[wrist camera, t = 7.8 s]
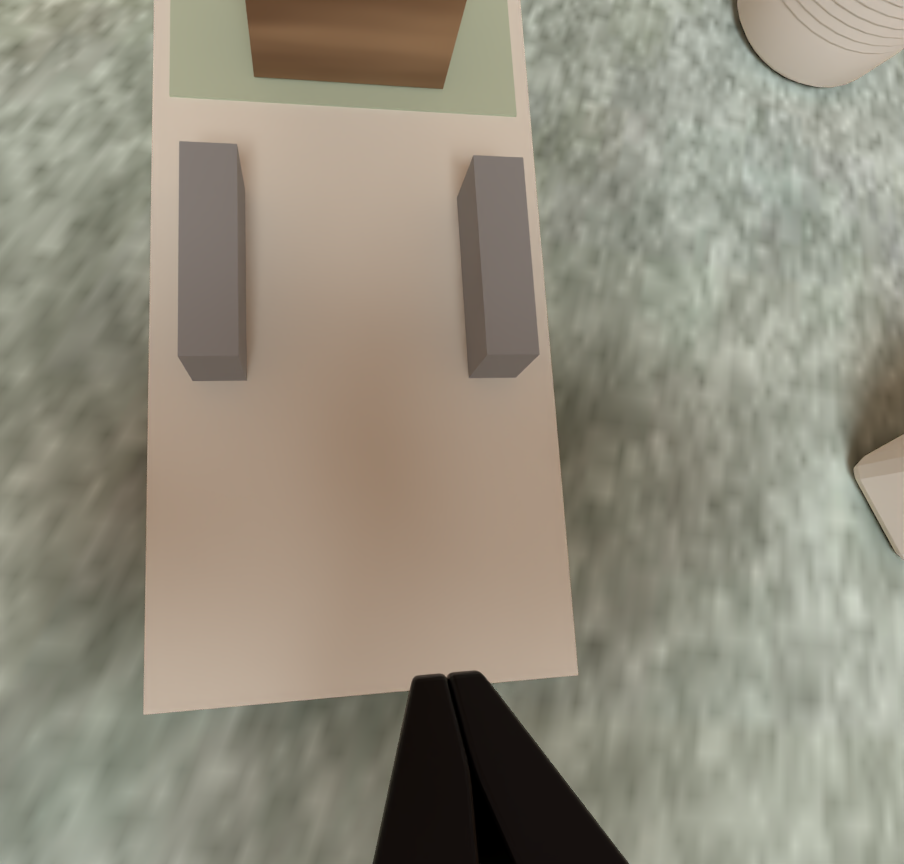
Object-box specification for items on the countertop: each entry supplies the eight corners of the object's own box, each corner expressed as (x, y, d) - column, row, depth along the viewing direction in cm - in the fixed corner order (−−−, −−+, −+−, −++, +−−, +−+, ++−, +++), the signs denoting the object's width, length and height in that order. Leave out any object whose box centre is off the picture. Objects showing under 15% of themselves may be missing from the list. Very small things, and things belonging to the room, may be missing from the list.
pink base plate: (567, 670, 23) (611, 687, 19) (151, 708, 20) (119, 733, 17) (509, -15, 27) (538, -100, 24) (161, -48, 25) (137, -147, 21)
